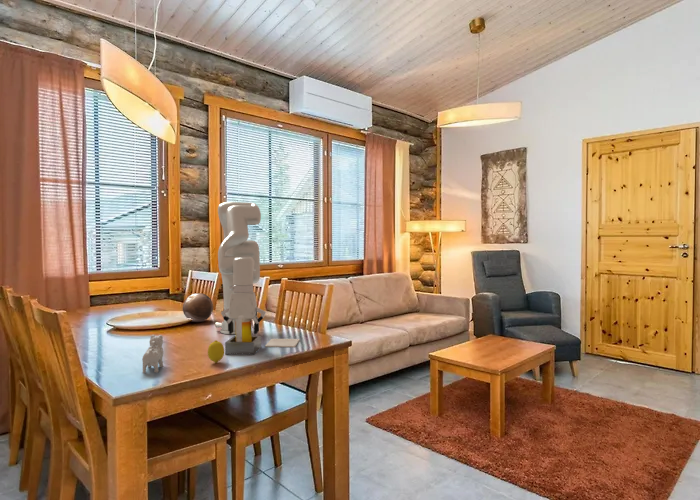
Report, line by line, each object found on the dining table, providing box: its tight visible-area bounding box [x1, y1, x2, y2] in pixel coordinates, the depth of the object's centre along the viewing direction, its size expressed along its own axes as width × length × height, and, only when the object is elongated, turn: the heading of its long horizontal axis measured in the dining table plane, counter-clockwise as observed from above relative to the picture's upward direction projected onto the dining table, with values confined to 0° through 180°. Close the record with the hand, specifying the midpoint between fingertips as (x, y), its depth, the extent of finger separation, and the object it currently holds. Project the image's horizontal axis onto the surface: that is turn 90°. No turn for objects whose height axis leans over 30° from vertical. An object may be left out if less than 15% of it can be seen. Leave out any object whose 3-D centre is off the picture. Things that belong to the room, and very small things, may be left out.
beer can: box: [235, 315, 253, 342], centre depth 173 cm, size 6×6×15 cm
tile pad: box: [264, 338, 301, 348], centre depth 185 cm, size 12×12×1 cm
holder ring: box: [224, 335, 262, 356], centre depth 173 cm, size 11×11×4 cm
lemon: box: [207, 340, 225, 364], centre depth 156 cm, size 6×6×8 cm
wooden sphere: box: [182, 292, 214, 323], centre depth 232 cm, size 15×15×15 cm
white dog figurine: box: [141, 334, 164, 374], centre depth 150 cm, size 5×13×11 cm, turn 11°
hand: (243, 333), depth 173 cm, fingers open, 9 cm apart
